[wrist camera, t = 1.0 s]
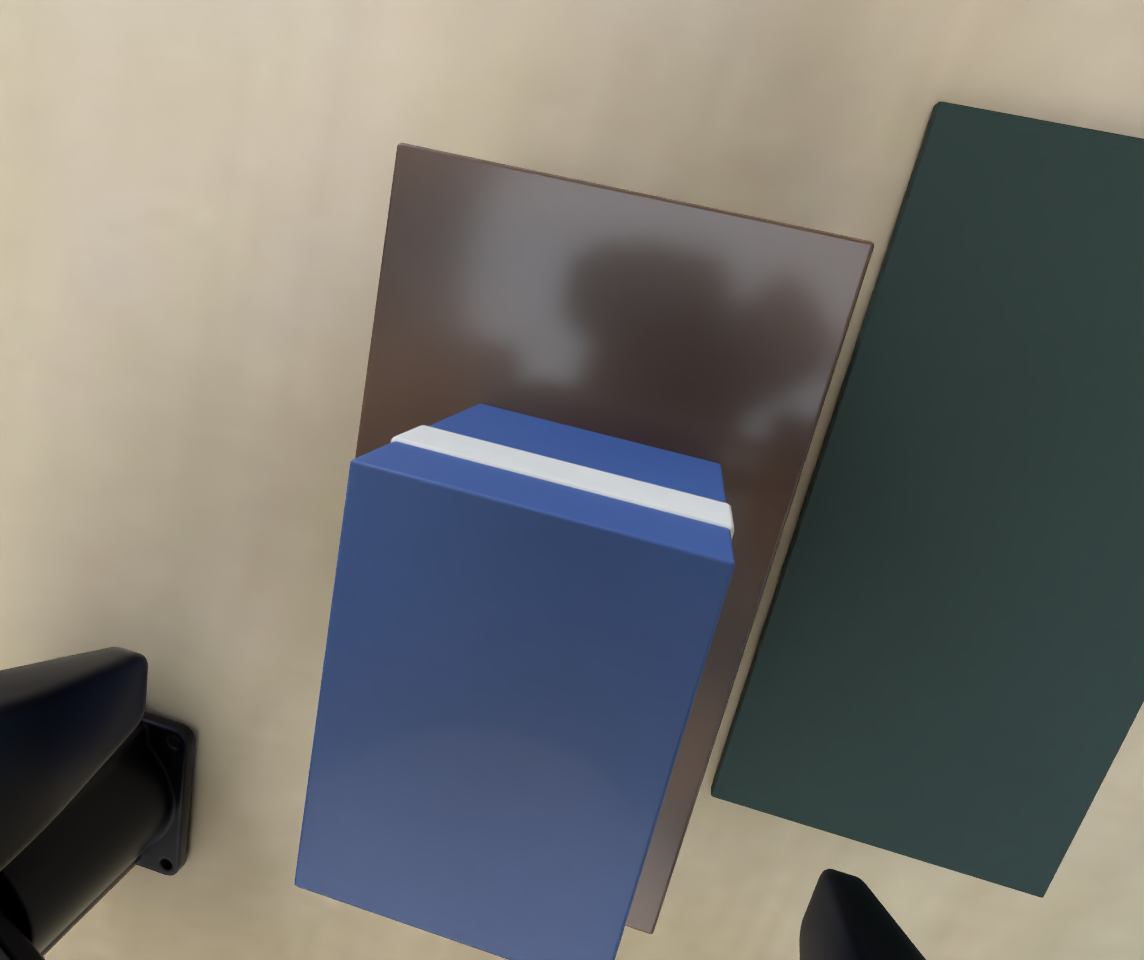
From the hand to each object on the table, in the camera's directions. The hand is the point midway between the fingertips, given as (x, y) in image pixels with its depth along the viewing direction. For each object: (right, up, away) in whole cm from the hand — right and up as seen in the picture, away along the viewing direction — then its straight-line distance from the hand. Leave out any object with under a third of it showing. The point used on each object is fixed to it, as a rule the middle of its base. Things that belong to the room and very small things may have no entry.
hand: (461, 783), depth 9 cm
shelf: (+2, +3, +12) cm, 12 cm away
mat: (+13, +2, +10) cm, 16 cm away
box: (+1, +2, +6) cm, 6 cm away
